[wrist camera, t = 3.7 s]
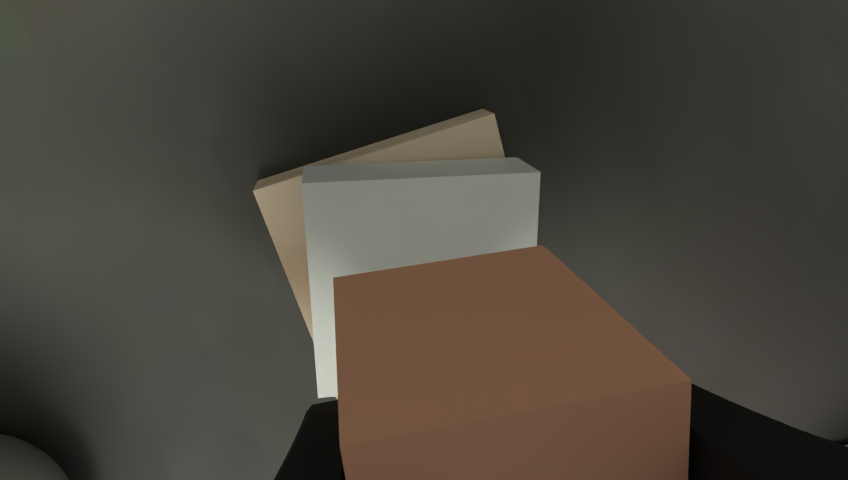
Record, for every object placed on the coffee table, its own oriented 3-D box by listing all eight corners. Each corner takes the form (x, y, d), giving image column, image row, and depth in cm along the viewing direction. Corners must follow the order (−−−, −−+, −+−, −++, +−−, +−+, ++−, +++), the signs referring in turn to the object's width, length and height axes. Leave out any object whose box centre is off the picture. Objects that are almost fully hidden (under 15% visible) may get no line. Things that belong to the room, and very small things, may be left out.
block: (551, 423, 13) (682, 639, 8) (363, 459, 12) (386, 709, 8) (542, 244, 12) (692, 380, 7) (333, 277, 11) (340, 445, 6)
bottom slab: (526, 301, 21) (546, 327, 19) (334, 366, 21) (336, 398, 19) (477, 106, 19) (494, 113, 17) (259, 175, 19) (252, 191, 17)
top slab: (509, 344, 19) (529, 377, 18) (318, 360, 19) (317, 398, 17) (517, 157, 17) (540, 172, 16) (303, 166, 17) (301, 183, 15)
